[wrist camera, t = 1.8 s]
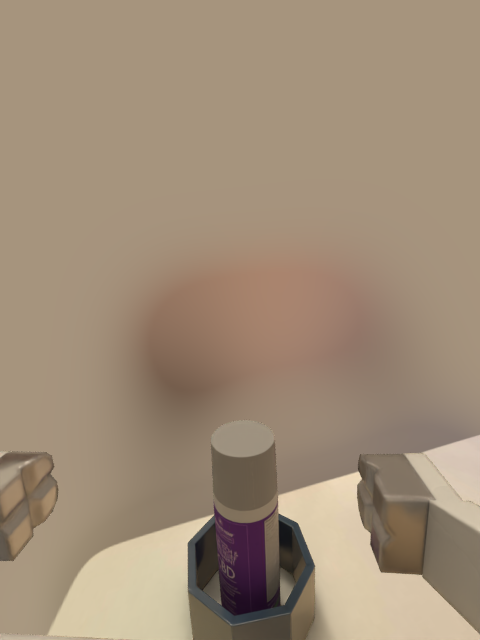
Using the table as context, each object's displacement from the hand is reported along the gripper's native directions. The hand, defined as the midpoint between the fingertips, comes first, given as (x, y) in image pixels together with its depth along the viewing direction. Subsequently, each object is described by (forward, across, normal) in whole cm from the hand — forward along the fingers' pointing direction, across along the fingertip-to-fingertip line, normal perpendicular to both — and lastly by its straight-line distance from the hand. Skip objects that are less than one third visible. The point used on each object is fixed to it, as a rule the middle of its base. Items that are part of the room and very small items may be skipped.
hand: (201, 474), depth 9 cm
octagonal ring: (+13, 0, -22) cm, 26 cm away
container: (+13, 0, -22) cm, 26 cm away
